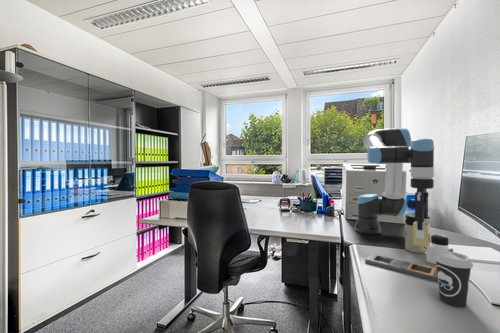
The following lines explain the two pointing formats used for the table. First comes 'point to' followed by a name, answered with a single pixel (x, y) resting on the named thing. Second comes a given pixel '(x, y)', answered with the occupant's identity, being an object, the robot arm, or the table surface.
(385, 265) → the rail
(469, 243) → the table surface
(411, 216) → the travel mug
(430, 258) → the medicine bottle
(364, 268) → the table surface
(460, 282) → the coffee cup
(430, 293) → the table surface
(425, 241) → the nut block
